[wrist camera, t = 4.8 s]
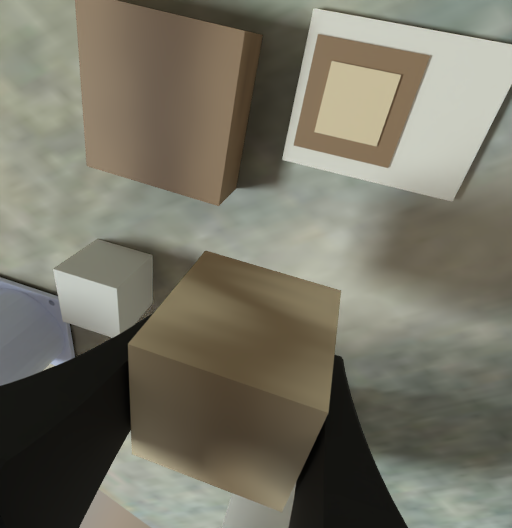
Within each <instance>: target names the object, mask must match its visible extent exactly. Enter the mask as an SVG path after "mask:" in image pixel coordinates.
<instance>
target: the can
mask: <svg viewBox="0 0 512 528" xmlns="http://www.w3.org/2000/svg"><path fill="white" fill-rule="evenodd" d="M295 487H296V483H295V485H294V488H293V490H292V492H291V494H290V496H289V498H288V500H287V503H286V505H285V507H284V509H283V511H282V512H280V511H277V510H275V509H272V508H269V507H267V506H264V505H262V504H259V503H257V502H254V501H251V500H249V499H246V498H244V497H241V496H239V495H236V494H233V493H232V494H231V498H230V501H229V504H228V508H227V511H226V514H225V517H224V521H223V524H222V527H221V528H289V522H290V517H291V512H292V506H293V501H294V495H295Z"/></svg>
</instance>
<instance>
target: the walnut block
mask: <svg viewBox="0 0 512 528" xmlns="http://www.w3.org/2000/svg"><path fill="white" fill-rule="evenodd" d="M75 6H76V20H77V34H78V48H79V63H80V77H81V91H82V105H83V119H84V134H85V148H86V162H87V166H89V167H92V168H95V169H99V170H102V171H105V172H108V173H112V174H115V175H118V176H122V177H125V178H128V179H132V180H135V181H138V182H141V183H145V184H148V185H151V186H155V187H158V188H161V189H164V190H168V191H171V192H174V193H178V194H181V195H184V196H188V197H191V198H194V199H197V200H201V201H204V202H207V203H211V204H214V205H217V206H219V205H220V204H221V203H222V202H223V201H224V200H225V199H226V198H227V197H228V196H229V195H230V194H231V193H232V192H233V191H234V190H235V189H236V186H237V180H238V175H239V169H240V163H241V158H242V152H243V146H244V140H245V135H246V129H247V123H248V118H249V112H250V106H251V100H252V95H253V89H254V83H255V78H256V72H257V66H258V60H259V55H260V49H261V43H262V38H263V35H261V34H257V33H253V32H248V31H244V30H240V29H236V28H232V27H227V26H223V25H219V24H215V23H210V22H206V21H202V20H198V19H194V18H189V17H185V16H181V15H177V14H173V13H168V12H164V11H160V10H156V9H151V8H147V7H143V6H139V5H135V4H130V3H126V2H122V1H118V0H75Z"/></svg>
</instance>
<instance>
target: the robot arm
mask: <svg viewBox="0 0 512 528" xmlns="http://www.w3.org/2000/svg"><path fill="white" fill-rule="evenodd" d="M152 314H153V313H152ZM152 314H151V315H149V316H148V317H146V318H144V319H143V320H141V321H140V322H138V323H137V324H135V325H133V326H132V327H130V328H128V329H127V330H125V331H124V332H122V333H120V334H119V335H117V336H115V337H113V338H111V339H110V340H108V341H106V342H104V343H102V344H101V345H99V346H97V347H95V348H93V349H91V350H89V351H87V352H85V353H83V354H81V355H79V356H77V357H75V354H74V348H73V341H72V335H71V329H70V324H69V323H66V322H63V320H62V314H61V309H60V304H59V298H58V296H56V295H53V294H50V293H46V292H43V291H40V290H37V289H34V288H31V287H28V286H25V285H22V284H19V283H16V282H13V281H10V280H7V279H4V278H1V277H0V528H79V527H80V524H81V522H82V520H83V518H84V516H85V515H86V513H87V510H88V509H89V507H90V505H91V503H92V501H93V499H94V497H95V495H96V493H97V491H98V489H99V487H100V485H101V483H102V481H103V479H104V478H105V476H106V474H107V472H108V470H109V468H110V466H111V464H112V462H113V461H114V459H115V457H116V455H117V453H118V451H119V450H120V448H121V446H122V444H123V442H124V441H125V439H126V437H127V435H128V434H129V432H130V430H131V415H130V388H129V361H128V343H129V342H130V341H131V340H132V338H133V337H134V336H135V335H136V334H137V332H138V331H139V330H140V329H141V328H142V326H143V325H144V324H145V323H146V322H147V320H148V319H149V318H150V317H151V316H152ZM49 364H53V365H56V366H54V367H52V368H49V369H47V370H44V369H45V368H46V367H47V366H48V365H49ZM43 370H44V371H43ZM289 528H408V527H407V525H406V523H405V522H404V520H403V518H402V516H401V514H400V512H399V511H398V509H397V507H396V505H395V503H394V501H393V499H392V498H391V496H390V493H389V491H388V489H387V487H386V485H385V483H384V481H383V479H382V477H381V475H380V472H379V470H378V468H377V466H376V464H375V461H374V459H373V457H372V454H371V452H370V449H369V447H368V444H367V442H366V439H365V436H364V434H363V431H362V428H361V425H360V422H359V419H358V416H357V413H356V410H355V407H354V403H353V400H352V397H351V393H350V389H349V385H348V381H347V377H346V373H345V368H344V362H343V359H342V357H340V356H337V355H334V364H333V373H332V383H331V393H330V403H329V412H328V415H327V417H326V419H325V421H324V423H323V426H322V428H321V430H320V432H319V434H318V436H317V438H316V441H315V443H314V445H313V447H312V449H311V451H310V453H309V456H308V458H307V460H306V462H305V464H304V466H303V468H302V470H301V473H300V475H299V477H298V479H297V481H296V487H295V495H294V501H293V506H292V512H291V517H290V522H289Z"/></svg>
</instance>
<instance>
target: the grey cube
mask: <svg viewBox="0 0 512 528" xmlns="http://www.w3.org/2000/svg"><path fill="white" fill-rule="evenodd" d="M53 271H54V277H55V282H56V288H57V293H58V298H59V304H60V309H61V314H62V320H63V322H66V323H69V324H72V325H75V326H78V327H81V328H84V329H87V330H90V331H93V332H96V333H99V334H102V335H105V336H108V337H111V338H113V337H115V336H117V335H119V334H120V333H122V332H124V331H125V330H127V329H128V328H130V327H132V326H133V325H134V324H135V323H136V322H137V321H138V320H139V318H140V317H141V316H142V315H143V314H144V313H145V312H146V310H147V309H148V308H149V307H150V306H151V305H152V303H153V255H151V254H147V253H144V252H140V251H137V250H133V249H130V248H127V247H123V246H120V245H116V244H113V243H110V242H106V241H103V240H99V239H96V240H95V241H93V242H92V243H90V244H89V245H88V246H86V247H85V248H83V249H82V250H80V251H79V252H77V253H76V254H74V255H73V256H71V257H70V258H68V259H67V260H65V261H64V262H62V263H61V264H59V265H58V266H56V267H55V268H54V269H53Z"/></svg>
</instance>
